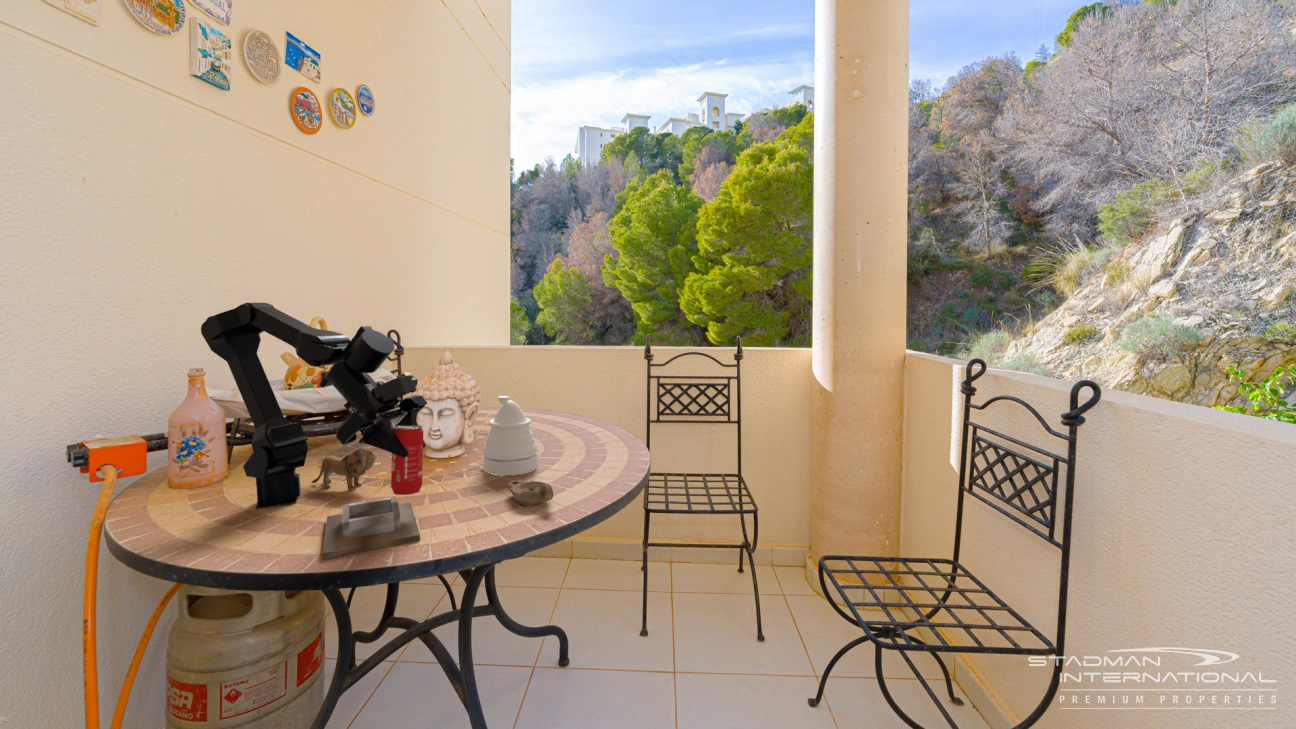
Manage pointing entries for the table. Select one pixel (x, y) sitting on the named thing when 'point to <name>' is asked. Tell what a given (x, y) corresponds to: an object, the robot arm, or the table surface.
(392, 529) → the can socket board
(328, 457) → the lion figurine
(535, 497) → the oil lamp
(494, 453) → the honey pot
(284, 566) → the table surface
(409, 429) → the beverage can
